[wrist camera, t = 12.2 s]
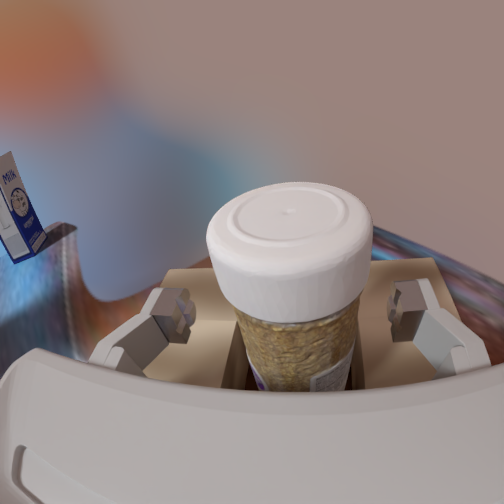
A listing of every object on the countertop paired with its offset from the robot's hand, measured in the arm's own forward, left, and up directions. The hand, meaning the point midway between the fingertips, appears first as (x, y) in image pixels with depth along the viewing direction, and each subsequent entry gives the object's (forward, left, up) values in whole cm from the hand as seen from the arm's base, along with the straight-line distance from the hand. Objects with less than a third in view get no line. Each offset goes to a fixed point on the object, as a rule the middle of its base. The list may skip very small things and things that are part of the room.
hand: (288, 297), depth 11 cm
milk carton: (-41, +36, -9) cm, 55 cm away
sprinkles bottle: (0, -1, -9) cm, 9 cm away
